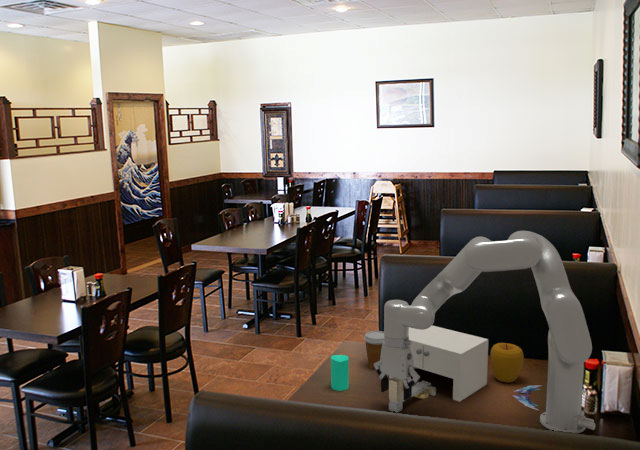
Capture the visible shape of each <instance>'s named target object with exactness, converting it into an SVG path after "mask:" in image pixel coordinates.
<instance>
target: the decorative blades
mask: <svg viewBox="0 0 640 450" xmlns="http://www.w3.org/2000/svg"><path fill="white" fill-rule="evenodd" d="M539 387H542V385H537V384H536V385H534V384H533V385H527V386H525V387H522V388H519V389H516V390H514V391H513V392H514V393H517V394H516V395H515V394H512V397H514V398H515V399H516V400H517V401H518V402H520V404H521V403H522V404H523V405H524V406H525V407H528V408H530V409H533V410H536V411H539V409H538V408H536V407H539V405H537V404H535V403H534V402H532V401H530V400H532V399H531V397H530V394H531V393H532V392H533V391H538V390H540V388H539ZM531 395H532V394H531Z"/></svg>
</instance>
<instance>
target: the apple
mask: <svg viewBox="0 0 640 450" xmlns="http://www.w3.org/2000/svg"><path fill="white" fill-rule="evenodd" d="M489 353H490V364H491V369H492V372H493V376H494V377H495V379H496V380H497V381H499V382H502V383H513V382H514V381H517V379H518V377H519V375H520V373H521V372H522V369H523V366H524V358H525V357H524V356H525V355H524V351H523V349H522V348H521V347H520V346H518V345H516V344H513V343H508V342H507V343H506V342H498V343H495V344H493V346H492V347H491V348H490V352H489Z"/></svg>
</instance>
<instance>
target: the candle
mask: <svg viewBox="0 0 640 450" xmlns="http://www.w3.org/2000/svg"><path fill="white" fill-rule="evenodd" d="M349 358H350V357H349V356H348V355H344V354H335V355H331V357H330V381H331V382H330V388H331V389H332V390H334V391H340V392H341V391H342V392H343V391H346V390H348V389H349V387H350V386H349V385H350V382H349V381H350V379H349V378H350V377H349V376H350V370H349V368H350V367H349V363H350V361H349V360H350V359H349Z"/></svg>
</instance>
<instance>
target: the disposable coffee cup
mask: <svg viewBox="0 0 640 450" xmlns="http://www.w3.org/2000/svg"><path fill="white" fill-rule="evenodd" d="M363 340H364V341H365V349H366V350H365V351H366V357H367V366H368V367H369V368H370V369H374V370H376V369H375V367H374V363H376V362H378V361H380V356H381V349H382V345H383V343H384V331H382V330H381V331H380V330H372V331H367V332H365V335H364V337H363Z"/></svg>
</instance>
